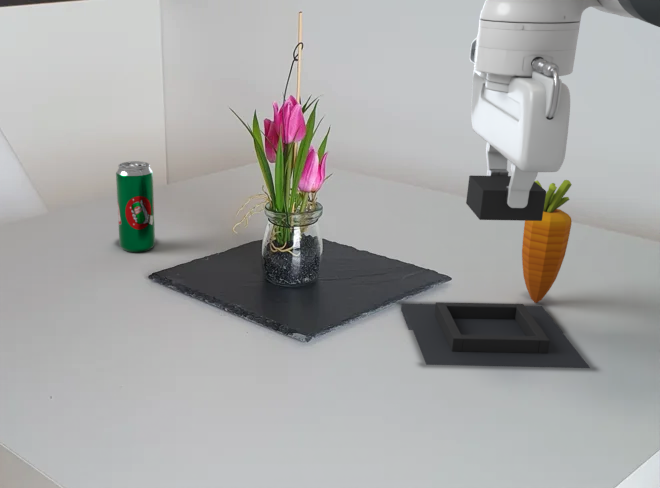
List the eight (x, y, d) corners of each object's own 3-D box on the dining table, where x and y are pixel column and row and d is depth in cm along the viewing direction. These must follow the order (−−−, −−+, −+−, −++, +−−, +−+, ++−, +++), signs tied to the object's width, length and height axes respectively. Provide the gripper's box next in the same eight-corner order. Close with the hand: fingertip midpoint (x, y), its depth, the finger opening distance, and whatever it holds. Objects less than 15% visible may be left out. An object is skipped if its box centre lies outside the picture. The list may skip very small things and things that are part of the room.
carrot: (504, 299, 100) (521, 176, 95) (534, 292, 102) (552, 171, 97) (536, 313, 96) (556, 186, 90) (567, 305, 98) (588, 180, 93)
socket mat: (540, 312, 97) (543, 293, 96) (590, 376, 82) (594, 354, 81) (400, 309, 98) (402, 291, 97) (424, 372, 83) (426, 351, 82)
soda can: (129, 240, 122) (125, 159, 118) (160, 244, 120) (158, 162, 116) (113, 251, 118) (109, 167, 113) (146, 255, 116) (143, 170, 112)
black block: (524, 204, 87) (528, 176, 86) (542, 221, 81) (546, 191, 80) (465, 203, 87) (469, 175, 86) (479, 220, 82) (483, 190, 81)
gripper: (599, 66, 69) (572, 227, 74) (528, 42, 88) (510, 172, 93) (521, 65, 69) (499, 226, 74) (466, 42, 88) (452, 171, 93)
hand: (505, 196), depth 84 cm, fingers closed on black block, 6 cm apart
